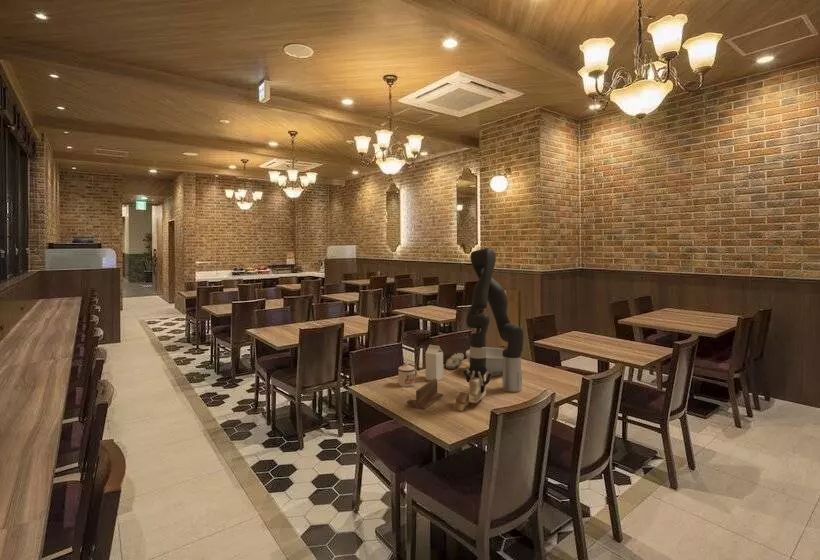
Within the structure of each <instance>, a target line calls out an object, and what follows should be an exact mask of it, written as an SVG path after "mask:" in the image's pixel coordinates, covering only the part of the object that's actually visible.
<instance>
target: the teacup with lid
mask: <svg viewBox="0 0 820 560" xmlns="http://www.w3.org/2000/svg"><path fill="white" fill-rule="evenodd" d="M397 371H398V386H399V387H403V388H410V386H411V387H413V385H414V386H415V384H416V377H417V376H418V371H417V369H416V368H415V366H413V365H410V364H409V362H404V364H403V365H401V366H399V367H398V368H397Z"/></svg>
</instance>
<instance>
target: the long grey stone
mask: <svg viewBox="0 0 820 560" xmlns="http://www.w3.org/2000/svg"><path fill="white" fill-rule="evenodd" d="M456 353H457V354H456ZM456 353H453V354H454V355H453V354H452V355H451V356H450V357H449V358H447V359H446V361H445V368H446V369H448V370H456V369H458V368H459V367H461V364H462V362H463V361H464V357H465V355H464V354H465V353H462V352H456Z"/></svg>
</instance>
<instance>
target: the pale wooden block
mask: <svg viewBox="0 0 820 560" xmlns="http://www.w3.org/2000/svg"><path fill="white" fill-rule="evenodd" d="M470 378H471V377H470ZM486 379H487V376H486V373H485V375H484V380H485V381H486ZM468 393H469V402H470V403H473V404H477V403H478V402H479V401H480V400H482V399H483V397H485V396H486V394H487V385H485V391H484V392H483V393H481V381H480V378H478V377H473V378H471V379H470V380H469V382H468Z"/></svg>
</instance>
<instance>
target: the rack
mask: <svg viewBox="0 0 820 560" xmlns="http://www.w3.org/2000/svg"><path fill="white" fill-rule="evenodd" d="M443 396H444V394H443V393H440V392H439V393H438V381H437V379H433V380H429V381H428V382H427V383H426V384H424V385H423V386H421V387H420V388H418V389H417V390H416V391H415V399H410V398H409V399H408V400H407V401H406V403H407V405H406V407H412V408H416V409H418V410H424V411H425V410H427V409H428V408H429V407H431V406H432V405H433V404H434V403H435V402H437V401H439V400H440V398H442V397H443Z"/></svg>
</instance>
